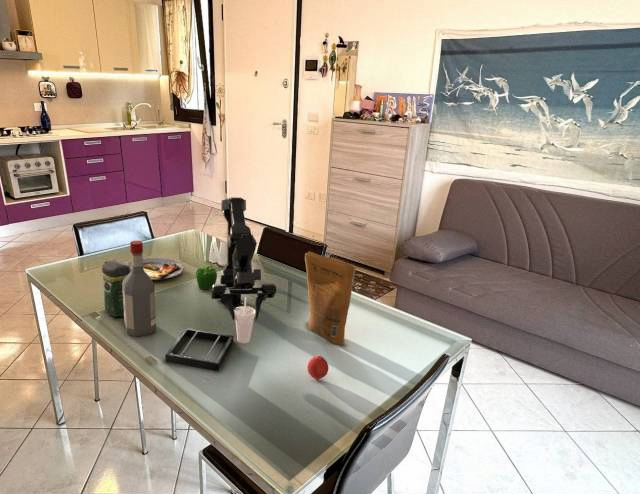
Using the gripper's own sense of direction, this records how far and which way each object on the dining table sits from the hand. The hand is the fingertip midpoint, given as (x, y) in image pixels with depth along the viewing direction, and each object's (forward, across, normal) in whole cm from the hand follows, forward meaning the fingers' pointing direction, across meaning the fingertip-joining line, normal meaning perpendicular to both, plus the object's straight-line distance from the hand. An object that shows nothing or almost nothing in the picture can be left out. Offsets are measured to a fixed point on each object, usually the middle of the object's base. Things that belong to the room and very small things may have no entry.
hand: (245, 319), depth 125 cm
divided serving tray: (+6, -12, +13) cm, 19 cm away
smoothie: (+4, 0, +6) cm, 8 cm away
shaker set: (-33, +40, +53) cm, 74 cm away
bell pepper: (-26, -9, +46) cm, 53 cm away
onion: (+17, +19, +2) cm, 26 cm away
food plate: (-38, -30, +58) cm, 76 cm away
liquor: (-4, -32, +23) cm, 39 cm away
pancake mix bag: (+1, +28, +18) cm, 34 cm away
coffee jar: (-13, -40, +32) cm, 53 cm away
